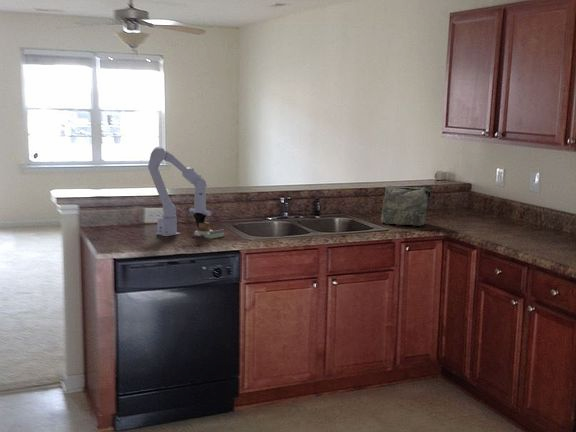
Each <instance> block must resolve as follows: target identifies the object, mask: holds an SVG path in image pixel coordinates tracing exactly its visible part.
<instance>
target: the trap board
mask: <svg viewBox="0 0 576 432" xmlns="http://www.w3.org/2000/svg"><path fill="white" fill-rule="evenodd" d="M194 236H196V237H197V236H198V237H201V238H205V239H210V240H211V239H216V238H222V237H225V229H224V228H223V229H217V230H213V229H210V231H206V232H203V231H199V230H194Z"/></svg>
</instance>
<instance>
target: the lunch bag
mask: <svg viewBox="0 0 576 432" xmlns="http://www.w3.org/2000/svg"><path fill="white" fill-rule="evenodd" d="M383 189H384V198H383V203H382V208H381V220H380V222H381V223H382V224H383V223H385V224H384V225H389V224H396V225H395V226H401V225H413V226H412V227H415V226H419V227H422V225H423V226H424V225H426V219H427V207H428V198H431V191H430V189H428V188H426V187H413V186H412V187H411V186H409V187H408V186H393V185H387V186H386V187H383Z"/></svg>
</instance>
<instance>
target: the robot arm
mask: <svg viewBox="0 0 576 432" xmlns="http://www.w3.org/2000/svg"><path fill="white" fill-rule="evenodd" d="M148 161H149V162H148V166H147V168H148V170H149V174H150V176H151V178H152V181H153V184H154V186H155V189H156V191H157V194H158V196H159V199H160V202H161V204H162V211H163V214H162V216H161V217H160V218H158V219H157V222H156V235H160V236H164V237H169V236H177V235H181V232H177V231H178V229H177V228H178V225H177V224H178V223H177V222H178V221H177V220H178V217H177V215H176V214H177V208H176V206H175V204H174V203H173V202H172V200H171V198H170V196H169V193H168V190H167V188H166V185H165V182H164V179H163V178H162V175H161V173H160V170H159V167H160V165H161V163H162V162H163V161H164V162H166V163H167V162H169V163H170V164H172V165H173V166H174V167H175V168H176V169H177V170H179V171H180V172H182V173H181V174H182V177H183V178H184V179H185V180H187V182H189V183H190V184H191V185H193V186H194V194H193V195H194V201H193V202H194V207H193V208H192V207H191V208H189V209H188V212H189V213H194V214H193V218H194V219H195V223H196V226H197V229H199V223H201V222H205V221H206V218H207V217H210V216H212V212H211V211H209V210H207V209H206V207H207V203H206V201H207V198H206V195H207V192H206V187H208V186H207V182H206V180H205V179H204V178H203V177H202V175H200V174H198V172H196V170H195V169H194V168H193V167H186V166H185V164H183V163H182V162H181V161H180V160H179V159H178V158H176V157H175V155H173V153H170V152H169V151H167V150H165V149H164V148H163V147H161V146H157V147H155V148H153V150H152V151H151V153H150V157H149V160H148Z"/></svg>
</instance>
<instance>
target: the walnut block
mask: <svg viewBox="0 0 576 432" xmlns="http://www.w3.org/2000/svg"><path fill="white" fill-rule="evenodd" d="M210 230H211V222H206V221H204V222H201V223H199V228H198V231H203V232H206V231H210Z"/></svg>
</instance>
